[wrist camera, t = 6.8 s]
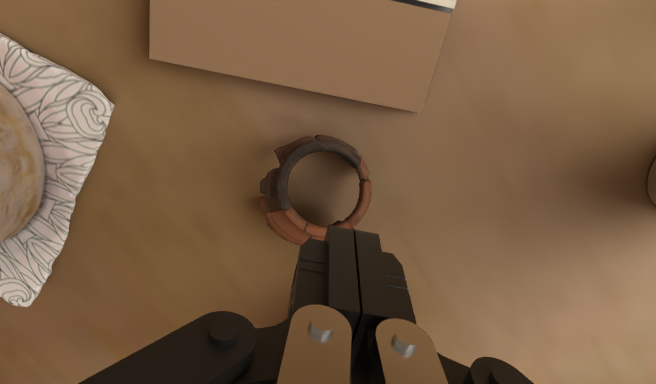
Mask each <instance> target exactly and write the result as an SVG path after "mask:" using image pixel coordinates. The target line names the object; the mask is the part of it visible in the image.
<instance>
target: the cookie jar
mask: <svg viewBox="0 0 656 384" xmlns="http://www.w3.org/2000/svg"><path fill="white" fill-rule="evenodd" d="M113 109H114V104H113V103H111V102H110V101H109V100H108V99H107V98H106V97H105V96H104V95H103V93H102V92H101V91H100V90H99V89H98V88H97V87H96V86H95V85H93V84H92V83H90V82H88V81H87V80H85V79H83V78H82V77H80V76H78V75H77V74H75V73H73V72H72V71H70V70H68V69H67V68H64V67H62V66H60V65H58V64H56V63H54V62H52V61H50V60H48V59H46V58H44V57H42V56H40V55H38V54H36V53H34V52H32V51H30V50H28V49H27V48H25V47H23V46H22V45H20V44H19V43H17V42H15V41H14V40H12V39H10V38H9V37H7V36H5V35H3V34H2V33H0V297H2V298H3V299H4V300H5V301H6V302H7V303H9V304H11V305H15V306H20V307H28V306H29V305H31V304H32V302H33V301H34V300H35V298H36V297H37V296H38V294H39V293H40V291H41V288H42V285H43V284H44V283H45V282H46V280H47V278H48V276H49V275H50V274H51V273H52V264H53V262H54V261H55V259H56V257H57V256H58V255H59V254H60V252H61V250H62V248H63V246H64V243H65V240H66V238H67V236H68V233H69V224H70V217H71V214H72V212H73V210H74V207H75V198H76V196H77V194H78V193H79V192H80V190H81V188H82V186H83V183H84V181H85V179H86V177H87V176H88V174H89V172H90V170H91V169H92V167H93V165H94V162H95V158H96V154H97V151H98V149H99V147H100V145H101V144H102V143H103V140H104V137H105V134H106V132H105V130H106V128H107V126H108V123H109V120H110V116H111V114H112V111H113Z"/></svg>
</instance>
